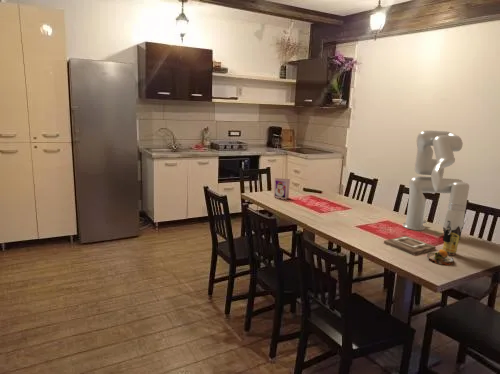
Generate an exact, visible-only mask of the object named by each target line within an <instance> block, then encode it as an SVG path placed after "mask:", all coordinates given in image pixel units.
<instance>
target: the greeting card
mask: <svg viewBox="0 0 500 374" xmlns="http://www.w3.org/2000/svg"><path fill="white" fill-rule="evenodd" d="M290 181H291V179H290V178H276V177H275V178H274V186H273V187H274V188H273V198H274V197H276V198H275V199H279V198H281V199H280V200H284V199H286V200H287V199H289V198H290V196H289V195H290V183H291V182H290Z"/></svg>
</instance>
